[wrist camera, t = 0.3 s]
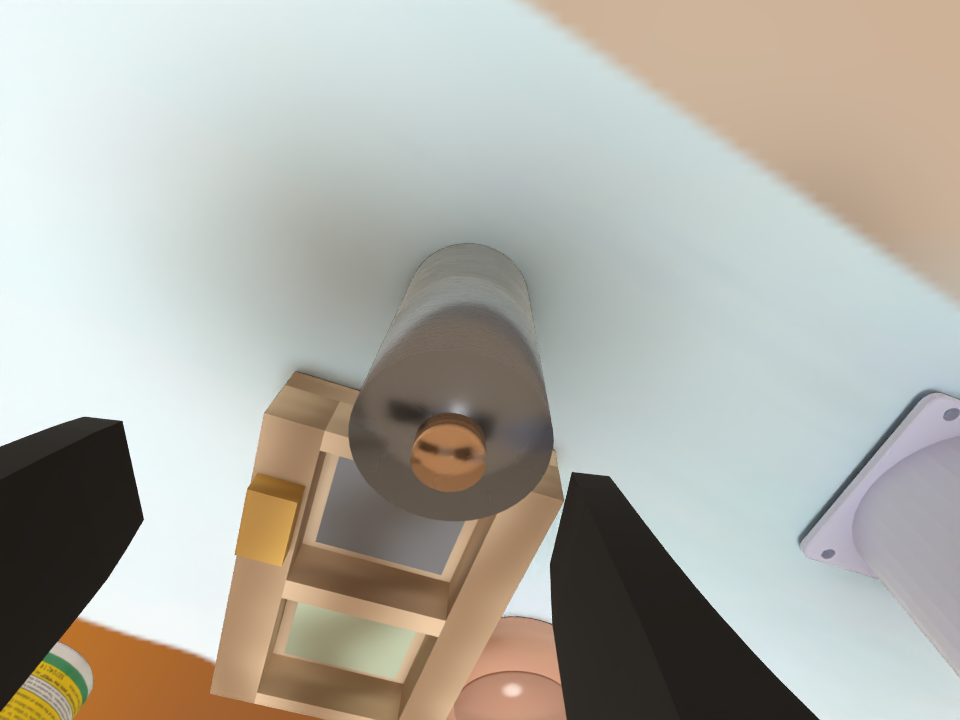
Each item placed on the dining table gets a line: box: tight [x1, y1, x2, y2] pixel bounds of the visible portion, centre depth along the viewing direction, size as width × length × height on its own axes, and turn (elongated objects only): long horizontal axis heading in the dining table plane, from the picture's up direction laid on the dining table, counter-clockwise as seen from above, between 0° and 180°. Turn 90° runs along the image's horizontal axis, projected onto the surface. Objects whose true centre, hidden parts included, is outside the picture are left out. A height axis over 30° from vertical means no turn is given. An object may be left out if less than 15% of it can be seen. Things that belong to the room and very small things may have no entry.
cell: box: [348, 243, 553, 521], centre depth 14 cm, size 4×4×9 cm
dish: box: [446, 617, 567, 720], centre depth 25 cm, size 7×7×2 cm
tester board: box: [210, 371, 564, 720], centre depth 21 cm, size 10×15×4 cm, turn 161°
